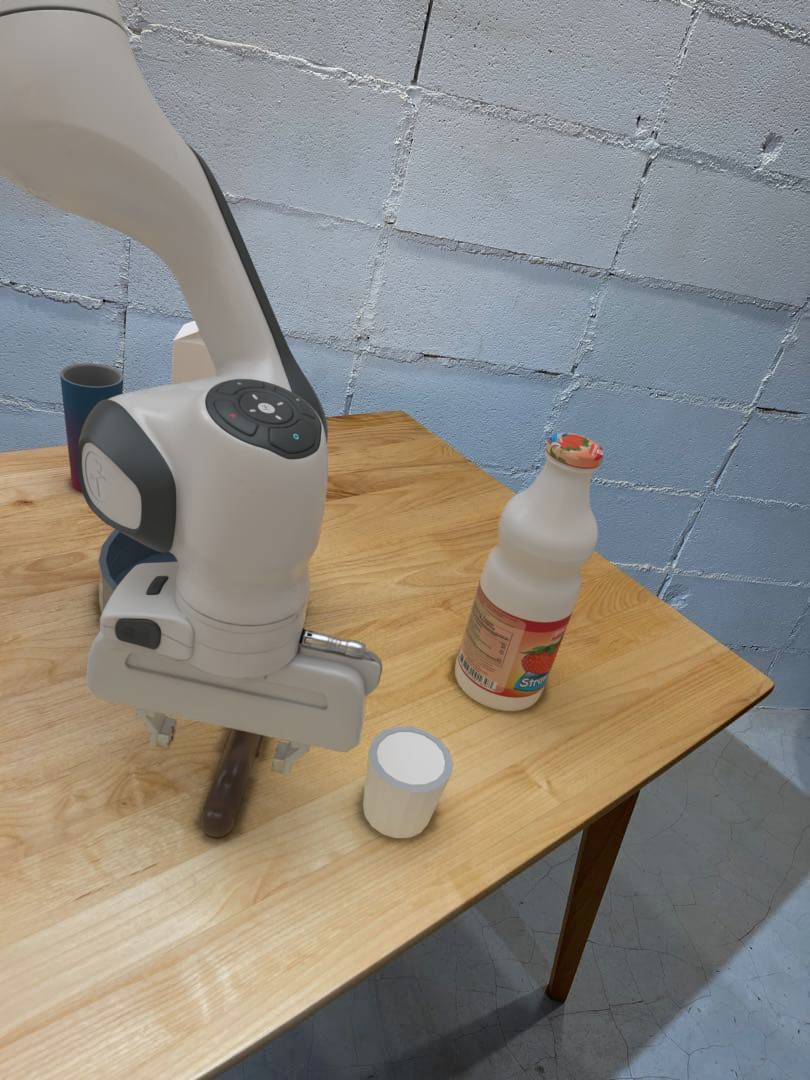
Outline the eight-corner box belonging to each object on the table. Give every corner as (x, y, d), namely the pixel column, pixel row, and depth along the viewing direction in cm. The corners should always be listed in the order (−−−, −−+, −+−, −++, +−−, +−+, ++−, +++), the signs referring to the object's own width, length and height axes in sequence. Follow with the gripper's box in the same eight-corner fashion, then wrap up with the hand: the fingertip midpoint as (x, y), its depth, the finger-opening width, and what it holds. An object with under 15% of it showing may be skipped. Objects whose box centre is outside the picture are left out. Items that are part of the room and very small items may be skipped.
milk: (167, 478, 106) (172, 314, 94) (177, 457, 111) (183, 298, 100) (214, 485, 107) (225, 323, 95) (222, 464, 112) (233, 307, 100)
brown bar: (231, 847, 63) (233, 826, 62) (193, 840, 63) (194, 818, 61) (269, 724, 74) (271, 703, 73) (236, 717, 74) (238, 697, 73)
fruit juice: (466, 641, 90) (535, 410, 75) (548, 672, 88) (635, 441, 73) (441, 693, 82) (513, 447, 67) (530, 728, 80) (624, 483, 65)
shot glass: (338, 805, 68) (351, 748, 64) (396, 768, 73) (411, 712, 69) (394, 863, 64) (411, 806, 61) (451, 821, 69) (470, 764, 65)
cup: (52, 491, 99) (47, 376, 91) (84, 468, 104) (82, 358, 96) (104, 507, 98) (103, 392, 90) (133, 483, 104) (134, 373, 96)
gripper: (392, 621, 59) (358, 752, 66) (113, 559, 58) (110, 698, 66) (382, 680, 54) (347, 815, 61) (75, 612, 53) (77, 757, 60)
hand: (222, 754), depth 63 cm, fingers open, 8 cm apart
